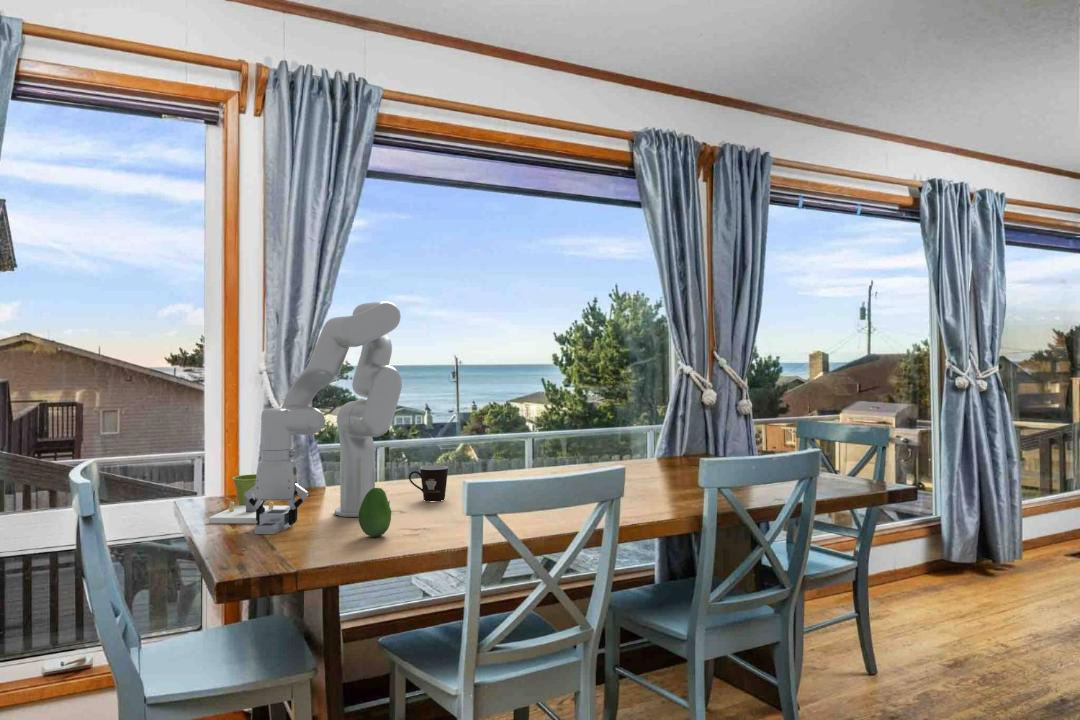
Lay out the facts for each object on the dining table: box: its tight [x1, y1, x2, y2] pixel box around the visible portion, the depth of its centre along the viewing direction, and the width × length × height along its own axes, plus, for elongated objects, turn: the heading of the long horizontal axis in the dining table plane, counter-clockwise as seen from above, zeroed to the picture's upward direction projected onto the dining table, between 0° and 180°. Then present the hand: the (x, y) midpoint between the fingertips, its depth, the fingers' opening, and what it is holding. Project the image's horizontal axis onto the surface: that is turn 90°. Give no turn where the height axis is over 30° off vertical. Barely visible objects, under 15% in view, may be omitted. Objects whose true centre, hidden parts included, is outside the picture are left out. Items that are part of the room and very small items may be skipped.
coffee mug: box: [408, 465, 449, 502], centre depth 227 cm, size 12×9×10 cm
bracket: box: [254, 509, 292, 535], centre depth 190 cm, size 16×6×4 cm, turn 178°
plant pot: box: [232, 473, 258, 506], centre depth 217 cm, size 9×9×9 cm
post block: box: [208, 494, 290, 524], centre depth 202 cm, size 16×16×6 cm
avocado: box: [358, 487, 392, 538], centre depth 180 cm, size 8×8×12 cm
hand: (276, 523), depth 190 cm, fingers open, 7 cm apart
